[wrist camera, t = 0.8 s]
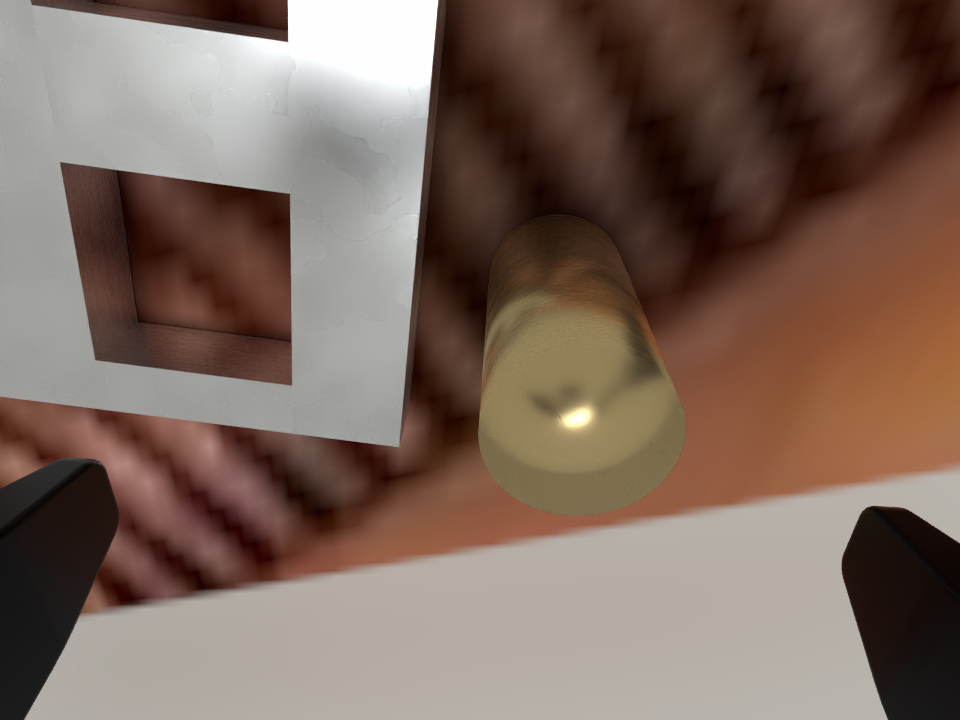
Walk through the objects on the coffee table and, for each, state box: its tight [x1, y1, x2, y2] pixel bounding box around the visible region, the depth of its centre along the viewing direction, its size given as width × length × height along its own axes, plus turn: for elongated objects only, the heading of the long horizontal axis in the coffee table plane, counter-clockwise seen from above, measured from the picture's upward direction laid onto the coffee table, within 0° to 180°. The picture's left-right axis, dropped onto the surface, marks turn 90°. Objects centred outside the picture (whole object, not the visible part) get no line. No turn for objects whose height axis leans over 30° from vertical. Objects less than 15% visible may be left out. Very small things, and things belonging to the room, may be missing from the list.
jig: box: [0, 0, 447, 447], centre depth 17 cm, size 12×18×2 cm, turn 173°
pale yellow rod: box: [478, 214, 686, 516], centre depth 16 cm, size 4×4×8 cm
